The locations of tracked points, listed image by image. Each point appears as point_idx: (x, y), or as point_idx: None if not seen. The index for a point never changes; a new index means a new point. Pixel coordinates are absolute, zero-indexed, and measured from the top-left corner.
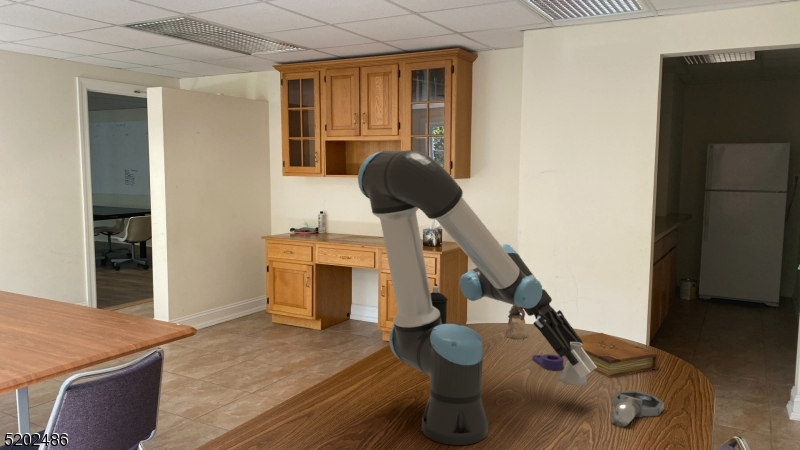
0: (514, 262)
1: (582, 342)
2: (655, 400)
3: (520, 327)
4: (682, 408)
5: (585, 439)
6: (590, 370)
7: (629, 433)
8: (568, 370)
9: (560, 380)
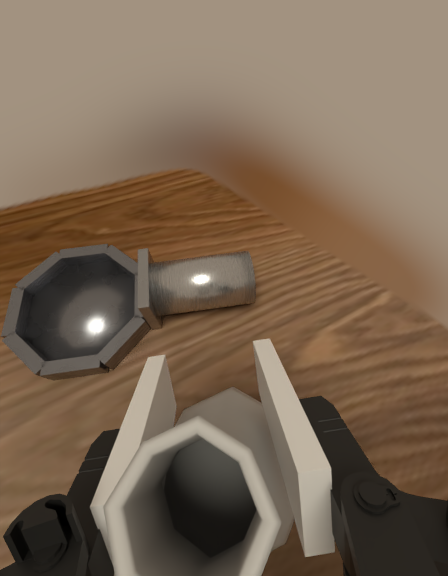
0: None
1: (33, 509)
2: (46, 273)
3: None
4: (32, 237)
5: (388, 310)
6: (171, 389)
7: (266, 259)
8: None
9: (292, 523)
